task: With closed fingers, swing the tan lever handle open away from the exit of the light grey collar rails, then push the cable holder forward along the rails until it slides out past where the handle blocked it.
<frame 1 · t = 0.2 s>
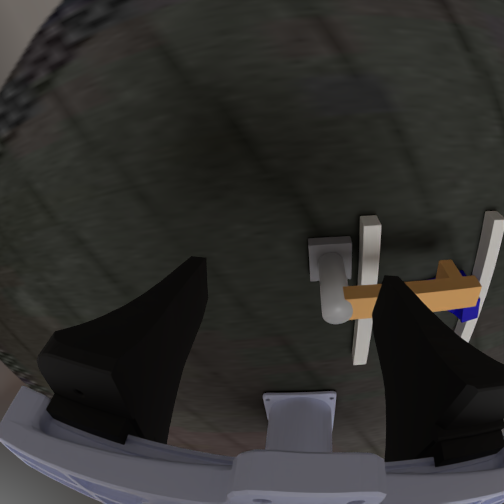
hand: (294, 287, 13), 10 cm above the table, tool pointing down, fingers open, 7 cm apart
tan lever handle: (398, 281, 19), point 4 cm above the table, hinge at 0.0°
collar rails: (423, 290, 24), on the table
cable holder: (419, 294, 24), on the table
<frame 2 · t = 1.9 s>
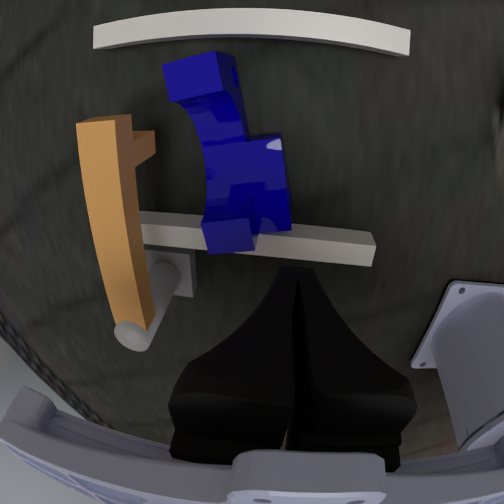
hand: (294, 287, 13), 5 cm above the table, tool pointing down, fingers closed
tan lever handle: (137, 228, 14), point 4 cm above the table, hinge at 0.0°
collar rails: (241, 131, 14), on the table
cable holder: (245, 136, 15), on the table
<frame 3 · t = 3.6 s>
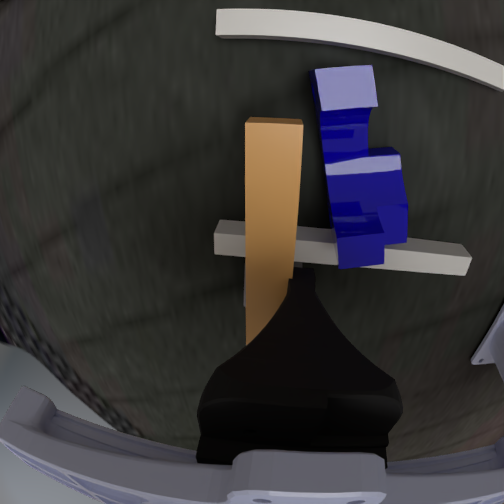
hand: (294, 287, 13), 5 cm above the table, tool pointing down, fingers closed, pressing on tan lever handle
tan lever handle: (272, 244, 13), point 4 cm above the table, hinge at 2.0°, touching gripper
collar rails: (368, 146, 14), on the table
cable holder: (356, 147, 14), on the table
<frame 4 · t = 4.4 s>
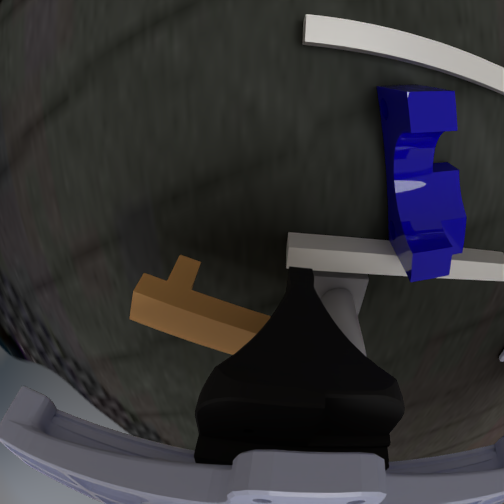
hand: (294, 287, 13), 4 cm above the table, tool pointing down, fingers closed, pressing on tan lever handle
tan lever handle: (260, 309, 14), point 4 cm above the table, hinge at 72.1°, touching gripper
collar rails: (434, 162, 14), on the table
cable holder: (414, 162, 14), on the table
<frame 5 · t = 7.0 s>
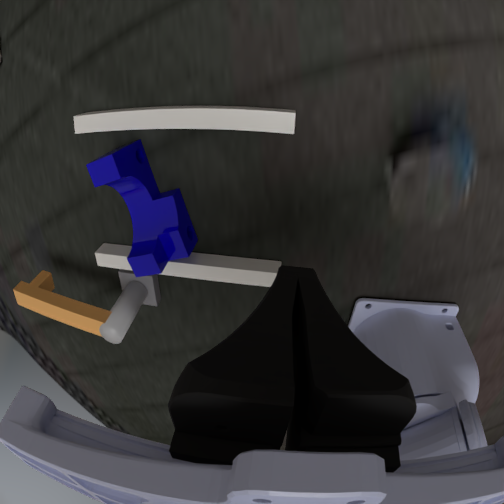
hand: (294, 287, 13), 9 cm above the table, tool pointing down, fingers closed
tan lever handle: (77, 296, 22), point 4 cm above the table, hinge at 82.8°
collar rails: (181, 192, 21), on the table
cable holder: (158, 192, 22), on the table
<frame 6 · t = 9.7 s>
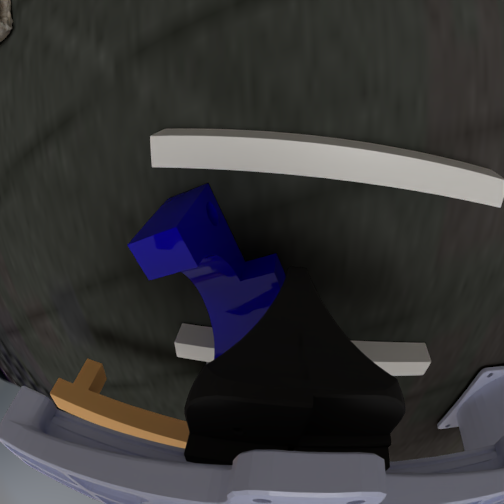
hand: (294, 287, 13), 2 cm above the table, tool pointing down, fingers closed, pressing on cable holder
tan lever handle: (149, 399, 16), point 4 cm above the table, hinge at 82.8°
collar rails: (324, 266, 14), on the table
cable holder: (240, 260, 15), on the table, touching gripper
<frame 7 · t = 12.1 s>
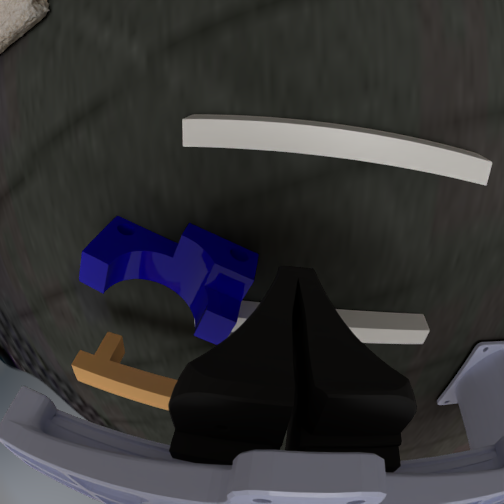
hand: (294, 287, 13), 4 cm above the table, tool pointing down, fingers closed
tan lever handle: (167, 368, 18), point 4 cm above the table, hinge at 82.8°
collar rails: (331, 239, 16), on the table
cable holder: (181, 244, 18), on the table
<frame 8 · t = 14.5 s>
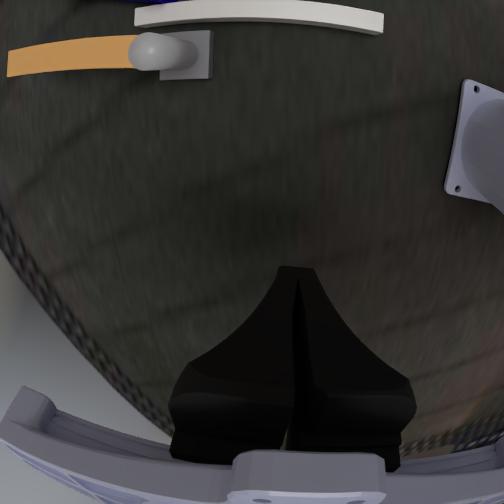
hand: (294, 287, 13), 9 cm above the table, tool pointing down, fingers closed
tan lever handle: (96, 53, 13), point 4 cm above the table, hinge at 82.8°
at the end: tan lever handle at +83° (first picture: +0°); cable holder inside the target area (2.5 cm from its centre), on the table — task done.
